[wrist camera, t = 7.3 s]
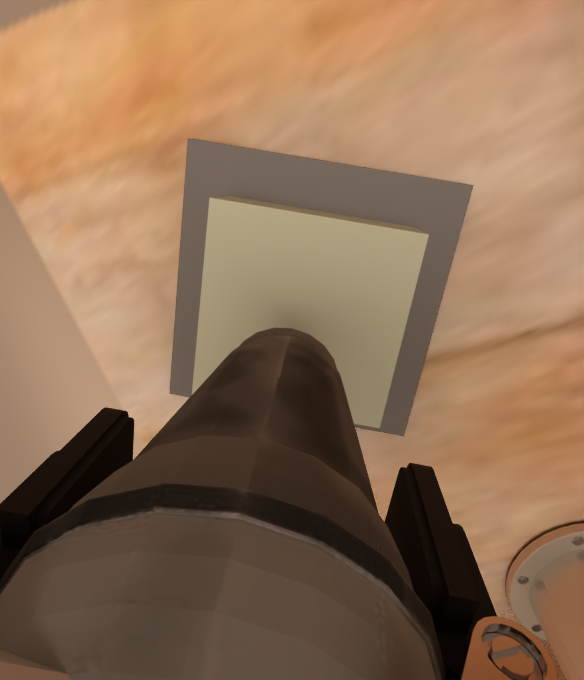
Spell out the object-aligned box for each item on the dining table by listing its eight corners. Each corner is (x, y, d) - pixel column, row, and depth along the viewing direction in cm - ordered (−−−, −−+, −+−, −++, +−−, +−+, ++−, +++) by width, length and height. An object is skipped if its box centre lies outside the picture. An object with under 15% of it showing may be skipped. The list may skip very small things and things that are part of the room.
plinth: (468, 185, 28) (502, 185, 23) (401, 429, 34) (415, 476, 29) (192, 139, 29) (158, 128, 23) (174, 387, 35) (143, 426, 29)
